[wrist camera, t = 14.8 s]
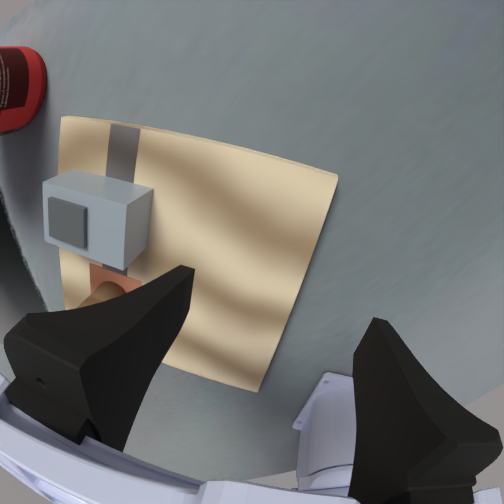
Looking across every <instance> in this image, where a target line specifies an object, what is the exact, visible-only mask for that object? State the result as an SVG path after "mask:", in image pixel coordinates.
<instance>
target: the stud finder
mask: <svg viewBox="0 0 504 504" xmlns="http://www.w3.org/2000/svg"><path fill="white" fill-rule="evenodd" d="M152 196H153V188H150V187H146V186H142V185H138V184H134V183H130V182H126V181H122V180H118V179H114V178H110V177H106V176H102V175H98V174H94V173H90V172H86V171H81V170H77V169H72V170H70V171H67V172H65V173H62V174H60V175H57V176H55V177H53V178H50V179H48V180H46V181H43V219H44V236H45V241H46V242H49V243H51V244H54V245H56V246H59V247H61V248H64V249H66V250H69V251H71V252H74V253H77V254H79V255H82V256H85V257H87V258H90V259H93V260H95V261H98V262H101V263H103V264H106V265H109V266H112V267H114V268H117V269H120V270H124V269H125V268H126V267H127V266H128V265H129V264H130V263H131V262H132V261H133V260H134V259H135V258H136V257H137V256H138V255H139V254H140V253H141V252H142V251H143V250H144V249H145V248H146V247H147V242H148V232H149V222H150V213H151V204H152Z"/></svg>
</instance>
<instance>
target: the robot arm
mask: <svg viewBox="0 0 504 504" xmlns="http://www.w3.org/2000/svg"><path fill="white" fill-rule="evenodd" d="M194 275H195V269H194V268H191V267H187V266H184V265H179V266H177V267H175V268H173V269H172V270H170V271H168V272H166V273H165V274H163V275H161V276H159V277H158V278H156V279H154V280H152V281H150V282H148V283H146V284H145V285H142V286H140V287H138V288H136V289H134V290H132V291H130V292H128V293H125V294H123V295H120V296H118V297H115V298H112V299H109V300H106V301H103V302H100V303H96V304H92V305H88V306H85V307H80V308H75V309H70V310H63V311H56V312H43V313H28V314H27V315H26V316H25V317H23V318H22V319H21V321H19V322H18V323H17V324H16V325H15V326H14V327H13V328H12V329H11V330H10V331H9V332H8V333H7V334H6V336H5V338H4V349H5V352H6V355H7V358H8V360H9V363H10V365H11V367H12V370H13V372H14V374H15V376H16V378H15V379H14V381H13V382H12V383H10V382H9V381H8V379H7V378H6V377H4V376H3V375H2V374H1V373H0V466H2V467H3V468H4V469H5V470H7V471H8V472H9V473H11V474H12V475H13V476H15V477H16V478H18V479H19V480H20V481H22V482H23V483H24V484H26V485H27V486H29V487H30V488H31V489H33V490H34V491H35V492H37V493H38V494H40V495H41V496H43V497H44V498H46V499H47V500H49V501H51V502H52V503H54V504H502V500H501V495H500V490H499V487H493V488H488V489H483V490H479V491H476V492H474V493H473V490H472V486H474V485H475V484H476V477H475V476H476V475H477V474H479V473H480V472H481V471H483V470H484V469H485V468H486V467H488V466H489V465H490V464H491V463H493V462H494V461H495V460H496V459H497V458H498V456H499V455H500V454H501V452H502V449H503V446H502V442H501V439H500V435H499V432H498V430H497V429H495V428H494V427H492V426H490V425H489V424H487V423H485V422H484V421H482V420H480V419H479V418H477V417H476V416H475V415H473V414H472V413H470V412H469V411H468V410H466V409H465V408H464V407H463V406H461V405H460V404H459V403H458V402H457V401H455V400H454V399H453V398H452V397H451V396H450V395H449V394H448V393H446V392H445V391H444V390H443V389H442V388H441V387H440V386H439V384H438V383H437V382H436V381H435V380H434V379H433V378H432V377H431V376H430V375H429V374H428V372H427V371H426V370H425V369H424V368H423V366H422V365H421V364H420V363H419V361H418V360H417V359H416V358H415V356H414V355H413V354H412V352H411V351H410V350H409V348H408V347H407V346H406V344H405V343H404V342H403V340H402V339H401V337H400V336H399V335H398V333H397V332H396V331H395V329H394V328H393V327H392V326H391V324H390V323H389V322H388V321H387V320H383V319H379V318H375V317H373V319H372V321H371V323H370V325H369V327H368V329H367V331H366V333H365V334H364V336H363V338H362V340H361V342H360V343H359V345H358V347H357V349H356V351H355V352H354V357H353V377H348V376H344V375H339V374H335V373H330V372H327V373H325V374H323V376H322V378H321V379H320V381H319V383H318V384H317V386H316V388H315V389H314V391H313V392H312V394H311V396H310V397H309V399H308V401H307V402H306V404H305V405H304V407H303V408H302V410H301V412H300V413H299V415H298V416H297V418H296V419H295V421H294V422H293V424H292V428H294V429H296V430H300V441H299V451H298V460H297V469H296V476H297V481H298V488H292V489H284V488H278V487H273V486H267V485H262V484H257V483H252V482H247V481H240V480H233V479H213V480H210V481H207V482H204V481H201V480H197V479H194V478H191V477H187V476H184V475H181V474H178V473H175V472H172V471H169V470H166V469H163V468H161V467H158V466H155V465H152V464H150V463H147V462H144V461H142V460H139V459H137V458H134V457H132V456H130V455H127V454H125V453H123V450H124V447H125V444H126V441H127V438H128V435H129V433H130V430H131V428H132V425H133V422H134V420H135V417H136V415H137V412H138V410H139V407H140V405H141V403H142V400H143V398H144V396H145V393H146V391H147V389H148V387H149V384H150V382H151V380H152V378H153V376H154V374H155V372H156V370H157V369H158V367H159V365H160V364H161V362H162V360H163V359H164V357H165V355H166V354H167V352H168V350H169V349H170V347H171V346H172V344H173V342H174V341H175V339H176V337H177V336H178V334H179V332H180V331H181V328H182V326H183V324H184V322H185V319H186V317H187V315H188V312H189V310H190V303H191V296H192V289H193V282H194Z"/></svg>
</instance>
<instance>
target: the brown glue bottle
mask: <svg viewBox="0 0 504 504" xmlns="http://www.w3.org/2000/svg"><path fill="white" fill-rule="evenodd" d="M125 293H126V292H125V290H124V289H123V288H122V287H121V286H119V285H118V284H116V283H114V282H111V281H105V282H103V283H101V284H100V285H99V286H98V287H97V288H96V289H95V290H94V291H93V292H92V293H91V294H90V295H89V296H88V297H87V298H86V299H85V300H84V301H83V302H82V303H81V304H80V305H79V306H78V307H77V308H80V307H85V306H88V305H92V304H96V303H100V302H103V301H106V300H109V299H112V298H115V297H118V296H120V295H123V294H125Z"/></svg>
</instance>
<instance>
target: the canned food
mask: <svg viewBox="0 0 504 504" xmlns="http://www.w3.org/2000/svg"><path fill="white" fill-rule="evenodd" d="M45 88H46V69H45V64H44V62H43V59H42V58H41V56H40V55H39V54H38V53H37V52H36V51H34V50H32V49H30V48H28V47H0V136H1V135H5V134H8V133H12V132H15V131H18V130H20V129H21V128H22V127H24V126H25V125H27V124H28V123H29V122H30V121H31V120H32V119H33V118H34V117H35V115H36V114H37V112H38V110H39V108H40V106H41V103H42V100H43V97H44V93H45Z"/></svg>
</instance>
